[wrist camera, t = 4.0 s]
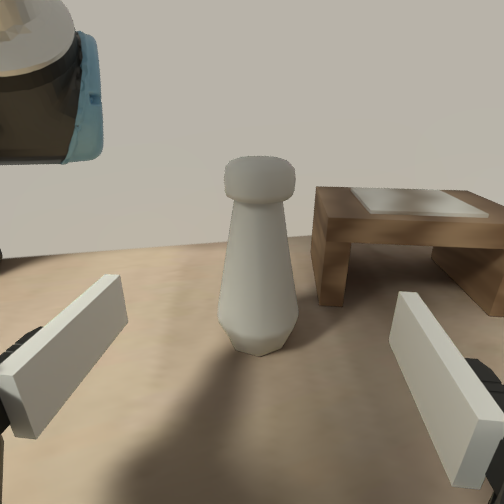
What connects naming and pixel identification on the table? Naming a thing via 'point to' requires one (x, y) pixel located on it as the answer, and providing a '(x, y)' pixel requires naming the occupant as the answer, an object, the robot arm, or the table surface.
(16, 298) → the table surface
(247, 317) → the salt shaker
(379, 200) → the walnut shelf
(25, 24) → the robot arm
